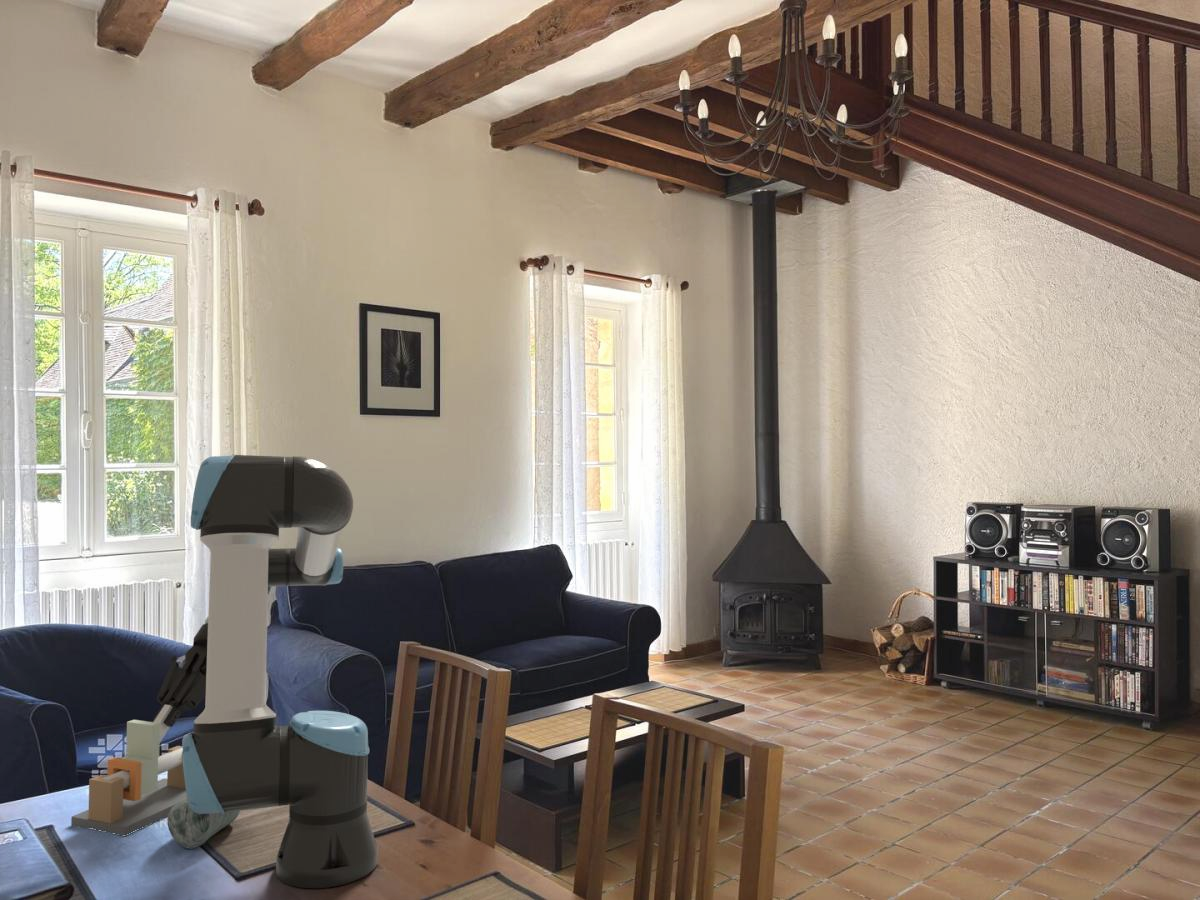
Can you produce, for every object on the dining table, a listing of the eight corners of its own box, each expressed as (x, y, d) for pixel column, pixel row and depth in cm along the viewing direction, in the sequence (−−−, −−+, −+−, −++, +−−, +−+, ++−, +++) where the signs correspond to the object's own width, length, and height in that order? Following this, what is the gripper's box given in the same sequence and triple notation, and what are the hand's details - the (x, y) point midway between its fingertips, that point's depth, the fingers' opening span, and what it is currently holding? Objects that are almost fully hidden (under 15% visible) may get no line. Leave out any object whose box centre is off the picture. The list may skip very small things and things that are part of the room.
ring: (140, 798, 156) (141, 761, 156) (135, 801, 154) (135, 764, 155) (112, 793, 158) (113, 757, 158) (107, 796, 157) (107, 759, 157)
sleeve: (158, 788, 159) (159, 723, 160) (140, 796, 156) (141, 729, 156) (132, 784, 161) (133, 719, 162) (113, 791, 158) (115, 725, 158)
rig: (213, 794, 168) (214, 748, 168) (124, 836, 149) (126, 784, 149) (163, 786, 172) (164, 741, 172) (71, 825, 153) (72, 775, 153)
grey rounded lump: (209, 838, 141) (195, 775, 145) (159, 861, 142) (146, 799, 146) (261, 826, 154) (247, 769, 157) (215, 848, 155) (202, 791, 159)
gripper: (256, 645, 178) (190, 755, 162) (204, 640, 182) (135, 746, 166) (238, 623, 173) (168, 734, 157) (185, 618, 177) (111, 725, 161)
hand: (151, 740), depth 162 cm, fingers closed
